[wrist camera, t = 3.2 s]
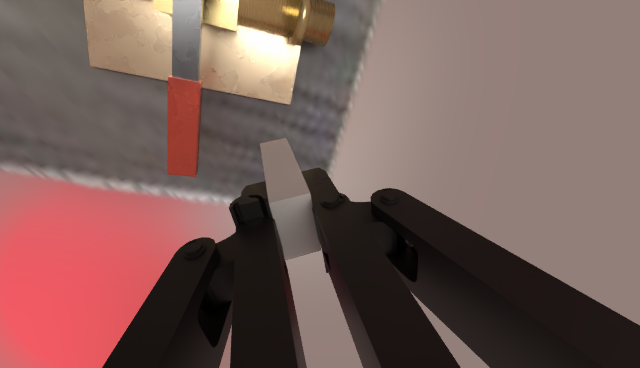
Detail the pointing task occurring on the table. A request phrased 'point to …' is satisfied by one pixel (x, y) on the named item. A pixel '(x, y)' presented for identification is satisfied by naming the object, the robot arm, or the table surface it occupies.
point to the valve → (212, 41)
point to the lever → (185, 88)
